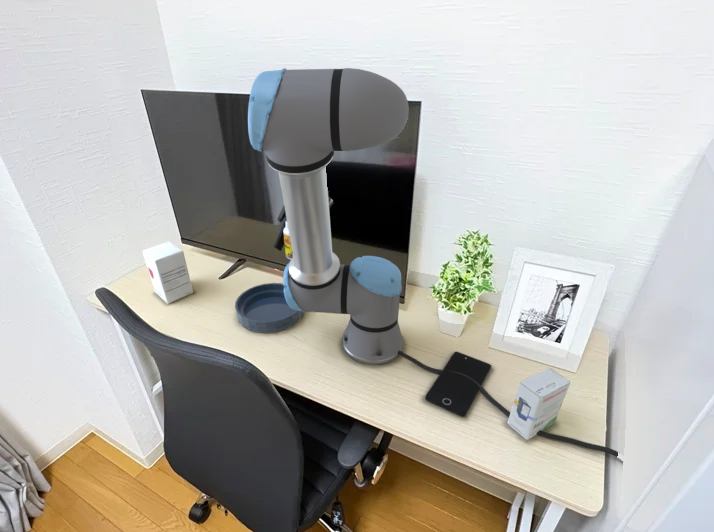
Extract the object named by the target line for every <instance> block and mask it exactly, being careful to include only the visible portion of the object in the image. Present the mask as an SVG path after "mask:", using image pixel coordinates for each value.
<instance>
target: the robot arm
mask: <svg viewBox="0 0 714 532" xmlns="http://www.w3.org/2000/svg"><path fill="white" fill-rule="evenodd" d="M247 108H248V110H247V132H248V137H249V138H248V139H249V142H250V145H251V146H252V148H253V150H255V151H258V152H259V153H260V152H263V151H264V152H265V156H266V161H267V164H268V166H269V167H270V168H271V169H272V170H274V171H275V172H277V173H278V177H279V178H278V179H279V185H280V189H281V196H282V201H283V206H282V208H281V210H280V212H279V215H278V216H277V219H276V220H277V221H278V222H279V223H280V227H279V229H278V232H277V238H276V241H275V243H274V244H273V248H274V249H276V250H277V251H279V252H282V250H283V248H284V247H285V244H284V234H283V230H284V228H285V227H286V221H287V224H288V230H289V235H290V241H291V247H292V254H293V258H292V259H291V260H290V259H289V260H290V261H289V262H288V263H287V264H286V265H285V267H284V271H283V275H282V276H283V277H282V284H283V286H284V296H285V299H286V302H287V304H288V305H289V307H290V308H292V309H293V310H298V311H303V312H304V313H321V314H337V315H349V320H348V323H347V325H346V327H345V329H344V332H343V335H342V348H343V351H344V352H345V354H346V355H347V356H348V357H349V358H350V359H352V360H353V361H356V362H358V363H360V364H364V365H371V366H372V365H373V366H379V365H385V364H388V363H391V362H393V361H394V360H396V359H397V358H398V357H402V358H403V359H406V360H408V361H410V362H412V363H413V364H415V365H416V366H418V367H419V368H421V369H423V370H425V371H428V372H430V373H434V374H438V375H440V373H441V372H442V371H443V369H440V368H435V367H432V366H429V365H426V364H425V363H423V362H421V361H419V360H418V359H417V358H415V357H413V356H411V355H409V354H408V353H406V352H404V351H403V349H404V337H403V335H402V331H401V327H400V324H399V312H400V300H401V293H402V291H403V287H402V286H403V285H402V272H401V271H400V269H399V267H398V266H397V265H396V264H395V263H393V262H392V261H391V260H388V259H386V258H384V257H380V256H375V255H362V257H360V256H358V257H355V259H353V260H352V261H351V263H350V264H341V262H340V259H339V257H338V255H337V254H336V253H335V252H333V243H332V231H331V230H332V228H331V216H330V208H331V207H332V206H333V205H334V202H333V201H334V200H333V199H332V198H331V197H330V196H329V191H328V187H327V173H326V166H327V165H328V164H329V163H330V162H331V160H332V159H333V156H334V151H346V152H352V151H353V152H354V151H359V150H365V149H370V148H373V147H379V146H381V145H383V144H386V143H387V144H388V143H389V142H392V141H393V140H395V139H396V138H398V137H397V136H398V135H399V134H400V133H401V132H402V130H403V129H404V127H405V125H406V123H407V120H408V121H409V114H410V107H409V101H408V97H407V95H406V94H405V92H404V90H403V89H402V88H401V87H400V86H398V84H396V83H395V82H394V81H392V80H391V79H389V78H387V77H385V76H383V75H381V74H378V73H375V72H373V71H371V70H370V71H369V70H365V69H360V68H351V67H344V68H307V69H306V68H305V69H304V68H303V69H302V68H301V69H287V68H286V67H285V68H282V69H275V70H265V71H261V72H260V73H259V74H257V76H256V77H255V79H254V81H253V83H252V85H251V89H250V93H249V100H248V107H247ZM444 371H445V370H444ZM450 372H454V371H450ZM454 373H458V374H461V375H463V376H466V377H467V378H469V379H471V380H472V381H474V382H475V383H476V384H477V385H478V386H479V387H480V388H479V392H480V393H481V394H482V396H484V397H485V398H486V399H487V400H488V401H489V402H490V403H491V404H492V405H493V406H495V407H496V408H497V409H498V410H499V411H501V413H503V414H504V415H505V416H506V417H508V418H509V416H510V413H511V411H509V410H508V409H507V408H506V407H504V406H503V405H502V404H501V403H499V402H498V401H497V400H496V399H495V398H494V397H492V395H491V394H489V392H488V391H487V390H486V389H485V388H484V387H483V386H482V385H480V384H479V383H478V382H476V381H475V380H474V379H472V378H471V377H469V376H467V375H465V374H462V373H459V372H454ZM536 436H541V437H544V438H546V439H550V440H555V441H560V442H563V443H568V444H572V445H575V446H577V447H578V446H579V447H582V448H585V449H588V450H589V449H590V450H592V451H598V452H601V453H605V454H608V455H610V456H614V457H615V458H617V456H618V452H619V451H617V450H615V449H613V448H610V447H606V446H603V445H599V444H595V443H590V442H586V441H583V440H578V439H576V438H573V437H569V436H566V435H565V436H564V435H560V434H555V433H550V432H547V431H545V430H543V431H541V430H539V431H538V432H537V433H536Z"/></svg>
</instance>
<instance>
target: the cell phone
mask: <svg viewBox="0 0 714 532" xmlns="http://www.w3.org/2000/svg"><path fill="white" fill-rule="evenodd" d="M491 368H492V364H490V363H489V362H485V361H483V360H480V359H477V358H475V357H473V356H470V355H467V354H465V353H462V352H459V351H454V352H453V354H452V355H451V357H450V358H449V360H448V361H447V363H446V364H445V365H444V367H443V368H442V370H443V371H442V372H441V373H440V374H438V376H437V378H436V379H435V381H434V382H433V384H432V385H431V387H430V388H429V390H427V393H426V394H425V397H424V400H425V401H426V402H428V403H431V404H433V405H434V406H437V407H440V408H441V409H444V410H446V411H448V412H450V413H452V414H455V415H457V416H459V417H461V418H464V417H466V415H467V413H468V411H469V410H470V407H471V406H472V404H473V403H474V400H475V398H476V396H477V394H478V393H479V392H480V390H479V388H480V387H479V386H478V385H477V384H476V383H475V382H474V381H472V380H471V379H469V378H467V377H466V376H463V375H461V374H458V373H454V372H459V373H462V374H465V375H467V376H469V377H471V378H472V379H474V380H475V381H476V382H478V383H479V384H480V385H481V386H482V385H483V384H484V382H485V379H486V378H487V376H488V374H489V372H490V370H491ZM444 370H445V371H444ZM450 371H454V372H450Z"/></svg>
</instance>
